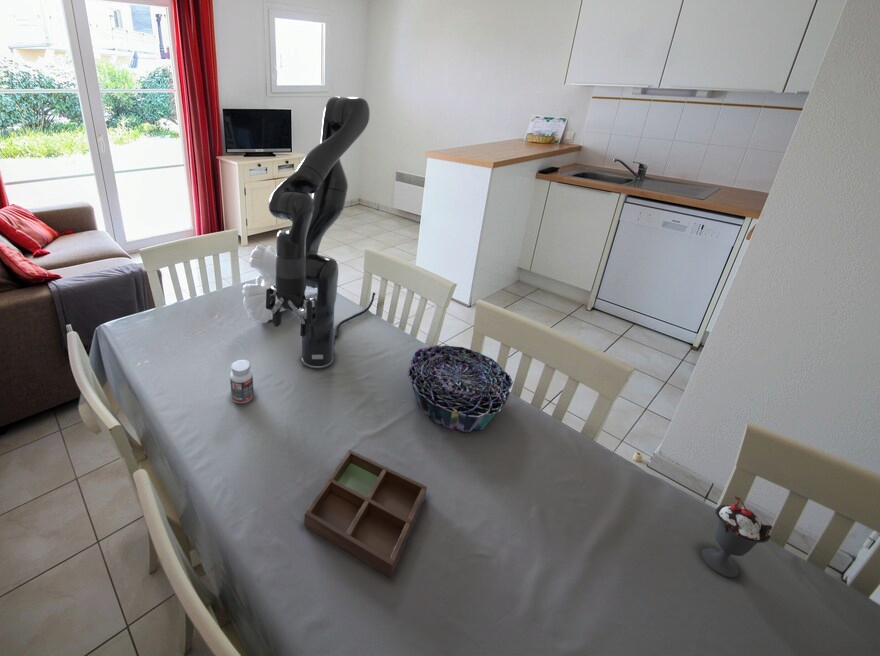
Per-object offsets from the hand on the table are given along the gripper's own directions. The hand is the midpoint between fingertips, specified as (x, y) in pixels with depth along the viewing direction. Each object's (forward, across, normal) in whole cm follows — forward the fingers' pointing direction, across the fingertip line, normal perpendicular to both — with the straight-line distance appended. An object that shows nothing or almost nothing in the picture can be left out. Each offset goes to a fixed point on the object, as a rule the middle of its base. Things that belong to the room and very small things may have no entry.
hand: (290, 330), depth 110 cm
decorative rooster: (+16, +30, -28) cm, 45 cm away
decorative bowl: (+17, -39, -20) cm, 47 cm away
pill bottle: (+18, +8, +10) cm, 22 cm away
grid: (+19, -34, +21) cm, 44 cm away
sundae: (+18, -91, -5) cm, 93 cm away
